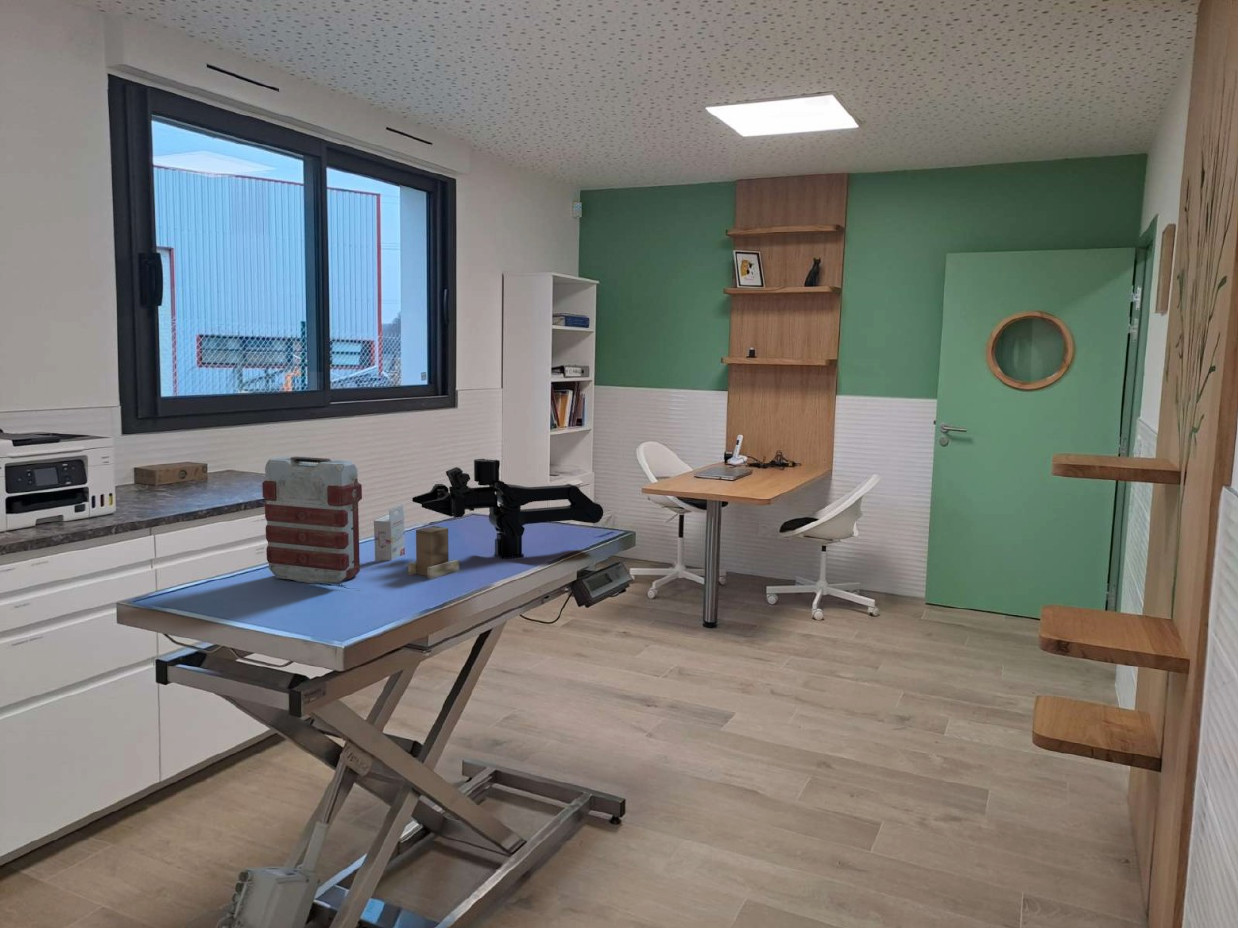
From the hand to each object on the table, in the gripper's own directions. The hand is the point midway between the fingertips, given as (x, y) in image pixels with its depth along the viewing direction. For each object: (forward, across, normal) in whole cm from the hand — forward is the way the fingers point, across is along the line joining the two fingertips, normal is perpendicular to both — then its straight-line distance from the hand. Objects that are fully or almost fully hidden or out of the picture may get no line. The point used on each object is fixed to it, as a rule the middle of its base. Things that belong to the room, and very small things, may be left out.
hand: (417, 502), depth 234 cm
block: (0, +15, +15) cm, 21 cm away
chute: (+2, +15, +17) cm, 23 cm away
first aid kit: (+27, +5, +17) cm, 32 cm away
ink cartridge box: (+6, -7, +17) cm, 19 cm away
